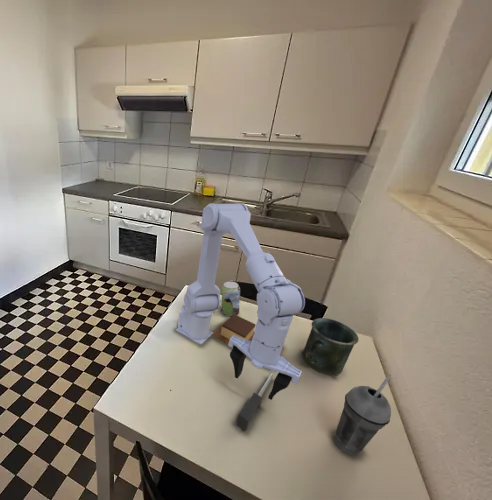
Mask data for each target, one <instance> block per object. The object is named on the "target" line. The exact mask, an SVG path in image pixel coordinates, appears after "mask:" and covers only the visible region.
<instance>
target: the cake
mask: <svg viewBox="0 0 492 500" xmlns="http://www.w3.org/2000/svg"><path fill="white" fill-rule="evenodd" d="M223 323H224V324H223ZM223 323H222V324H223V325H222V324H221V325H222V330H221V334H220V335H222V336H224V337H226V338H228V339H230V338H231V337H232V336H233V335H234V336H236V337H239V338H242V339H245V340H249V339H250V337H251V336H252V335H253V333H254V331H255V328H256V324H257V323H256V324H255V323H254V322H252V321H250V320H248V319H245V318H243V317H241V316H240V315H235V314H233V315H232V316H229V318H227V319H226V320H225V321H224V322H223Z"/></svg>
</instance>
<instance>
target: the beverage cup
mask: <svg viewBox="0 0 492 500" xmlns="http://www.w3.org/2000/svg"><path fill="white" fill-rule="evenodd" d="M391 378H392V375H391V374H388V375H387V376H386V378H385V379H384V380H383V381H382V383H381V384H380V386H379V387H378V389H375V388H373V387H371V386H367V385H358V386H354V387H352V388H351V389H350V390H349V391H348V392H347V393H346V394H345V396H344V404H343V408H342V412H341V415H340V418H339V420H338V424H337V426H336V430H335V434H334V437H333V440H334V443H335V444H336V446H337V447H338V448H339V449H340V450H341V451H342V452H344V454H346V455H349V456H353V457H355V456H358V455H359V454H360V452H363V450H364V449H365V448H366V446H367V445H368V444H369V443H370V441H371V440H372V439H373V438H374V437H375V435H377V433H378V432H379V431H380V430H382V429H383V428H385V426H387V425H388V424H389V423H390V422H391V417H392V407H391V405H390V403H389V400H388V399H387V398H386V396H385V395H384V394H383V393H382V391H383V390H384V388H385V387H386V385H387V384H388V382H389V381H390V380H391Z"/></svg>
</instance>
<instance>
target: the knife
mask: <svg viewBox="0 0 492 500" xmlns="http://www.w3.org/2000/svg"><path fill="white" fill-rule="evenodd" d="M273 375H274V373H273V372H271V373H270V375H269V376H268V378H267V379H266V381H265V382H264V384H263V386H262V387H261V389H260V390H259V392H258V393H256V392H253V393H252V395H251V396H250V398H249V399H248V401H247V403H246V405H245V406H244V407H243V409H242V411H241V412H240V413H239V416H238V419H237V423H236V427H238V428H239V429H241V430H242V431H243V432H246V431H247V430H248V428H249V426H250V424H251V423H252V422H253V419H254V417H255V416H256V414H257V412H258V411H259V409H260V406H261V403H262V401H263V397H262V396H263V394H264V392H265V391H266V389H267V388H268V386H269V385H270V382H271V381H272V378H273Z"/></svg>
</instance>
